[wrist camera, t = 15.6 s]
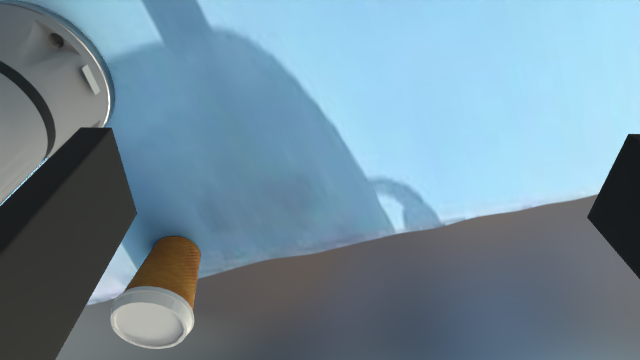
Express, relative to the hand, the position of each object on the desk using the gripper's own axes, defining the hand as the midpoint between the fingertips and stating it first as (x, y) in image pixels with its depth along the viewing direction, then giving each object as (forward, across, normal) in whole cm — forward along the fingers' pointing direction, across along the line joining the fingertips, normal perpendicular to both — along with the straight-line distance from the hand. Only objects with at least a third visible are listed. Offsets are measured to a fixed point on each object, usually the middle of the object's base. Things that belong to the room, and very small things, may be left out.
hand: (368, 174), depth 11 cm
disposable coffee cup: (+33, -20, -35) cm, 52 cm away
